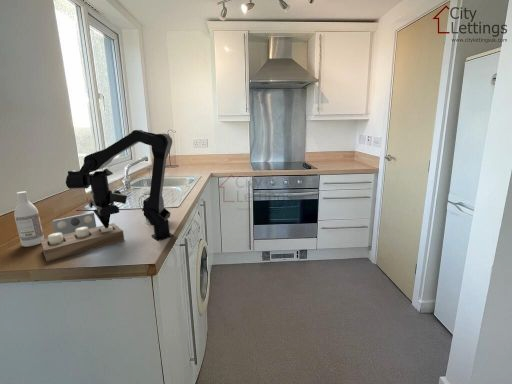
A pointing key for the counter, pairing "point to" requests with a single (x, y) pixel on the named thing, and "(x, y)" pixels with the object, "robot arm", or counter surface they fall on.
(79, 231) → the button middle
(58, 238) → the button
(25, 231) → the bath foam
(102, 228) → the button
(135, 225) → the counter surface
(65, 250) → the board
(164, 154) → the robot arm
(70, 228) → the placard
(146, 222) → the french press
